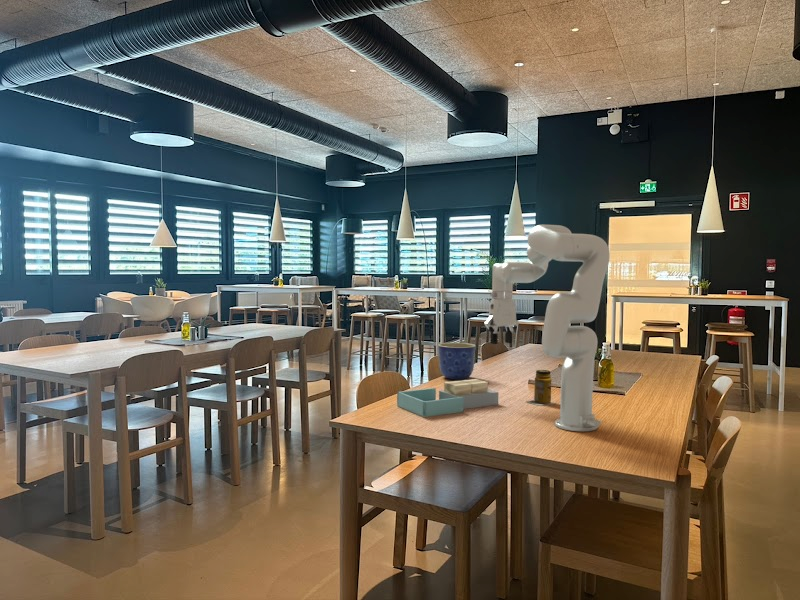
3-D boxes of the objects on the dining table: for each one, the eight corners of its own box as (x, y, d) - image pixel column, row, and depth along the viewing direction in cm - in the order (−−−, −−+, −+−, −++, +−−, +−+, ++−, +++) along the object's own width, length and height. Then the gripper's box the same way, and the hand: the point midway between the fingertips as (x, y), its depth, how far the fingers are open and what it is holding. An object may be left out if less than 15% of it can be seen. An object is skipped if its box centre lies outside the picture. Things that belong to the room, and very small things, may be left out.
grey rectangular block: (498, 404, 206) (498, 392, 206) (458, 409, 197) (458, 397, 197) (477, 398, 217) (478, 386, 216) (438, 402, 208) (439, 390, 208)
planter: (435, 380, 251) (436, 346, 250) (439, 374, 268) (440, 342, 267) (474, 382, 248) (474, 347, 248) (475, 375, 265) (476, 343, 264)
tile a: (487, 391, 207) (487, 382, 207) (472, 393, 203) (472, 383, 203) (475, 388, 213) (476, 379, 213) (460, 390, 209) (460, 380, 209)
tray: (463, 411, 195) (463, 397, 195) (423, 417, 187) (424, 402, 187) (434, 401, 210) (434, 387, 210) (397, 405, 202) (397, 392, 202)
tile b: (471, 393, 203) (471, 384, 203) (455, 395, 200) (455, 385, 199) (459, 390, 209) (459, 380, 209) (444, 391, 206) (444, 382, 205)
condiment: (555, 403, 209) (556, 371, 209) (540, 406, 205) (540, 373, 204) (541, 399, 215) (541, 368, 215) (525, 402, 211) (525, 370, 210)
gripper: (490, 296, 205) (489, 345, 206) (526, 296, 214) (525, 343, 215) (477, 295, 212) (476, 343, 212) (513, 295, 220) (512, 341, 221)
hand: (501, 342), depth 214 cm, fingers open, 6 cm apart
